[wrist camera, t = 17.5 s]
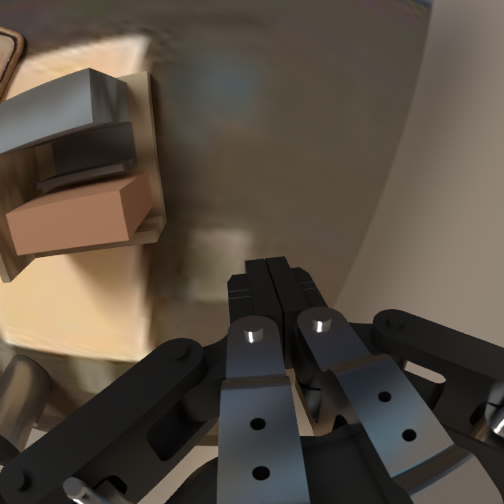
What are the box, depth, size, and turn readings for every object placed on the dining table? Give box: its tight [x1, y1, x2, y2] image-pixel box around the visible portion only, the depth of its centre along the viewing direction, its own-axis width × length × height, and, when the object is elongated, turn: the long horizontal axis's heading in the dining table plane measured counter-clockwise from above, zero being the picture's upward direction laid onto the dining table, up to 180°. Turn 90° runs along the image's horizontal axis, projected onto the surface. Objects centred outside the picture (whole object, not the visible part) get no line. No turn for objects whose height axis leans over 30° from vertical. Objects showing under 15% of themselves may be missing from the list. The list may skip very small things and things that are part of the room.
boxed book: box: [6, 170, 153, 255], centre depth 25 cm, size 4×12×10 cm, turn 94°
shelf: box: [0, 68, 167, 283], centre depth 24 cm, size 17×16×12 cm
